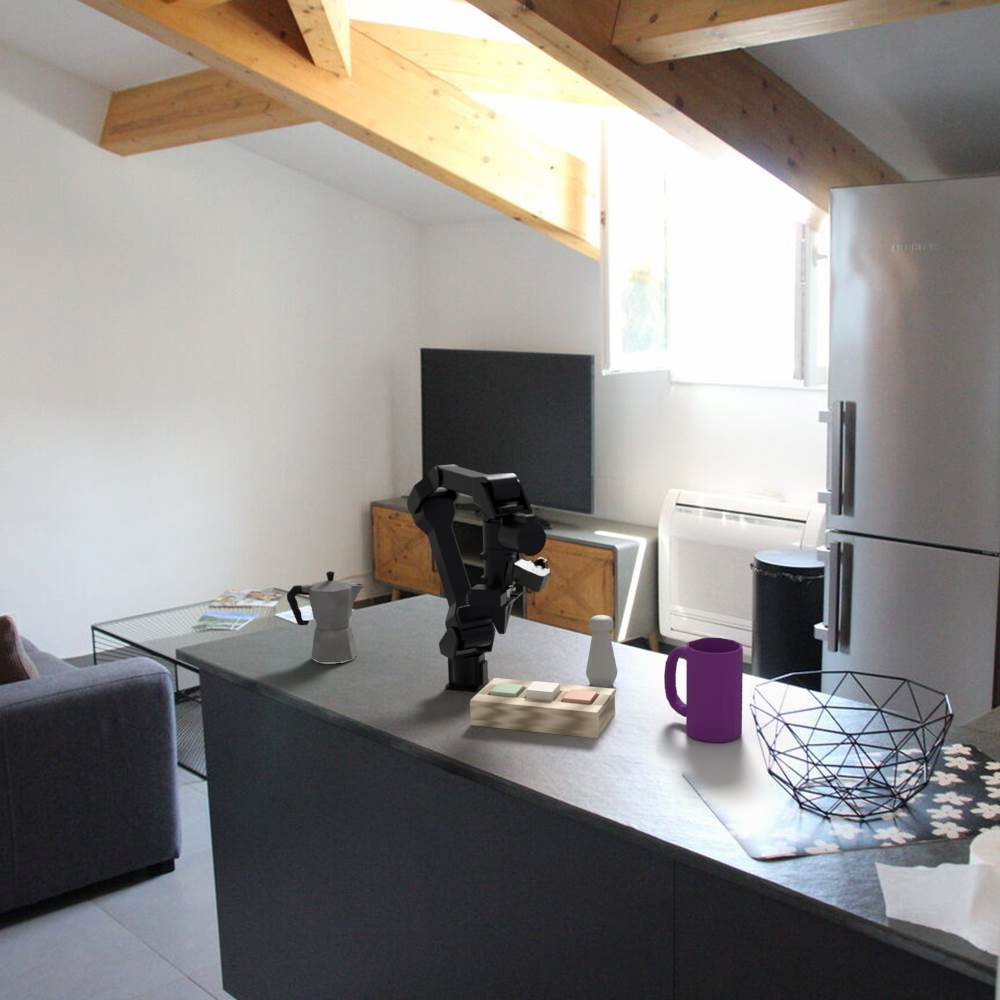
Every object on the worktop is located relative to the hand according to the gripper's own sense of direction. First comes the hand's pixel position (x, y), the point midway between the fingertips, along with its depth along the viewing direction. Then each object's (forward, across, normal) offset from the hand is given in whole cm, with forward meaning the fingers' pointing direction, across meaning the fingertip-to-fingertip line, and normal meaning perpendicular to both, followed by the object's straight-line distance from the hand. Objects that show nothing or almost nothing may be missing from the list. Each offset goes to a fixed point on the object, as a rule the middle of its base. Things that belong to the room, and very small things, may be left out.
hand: (502, 633), depth 203 cm
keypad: (+13, -5, -9) cm, 17 cm away
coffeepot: (+13, +16, +43) cm, 48 cm away
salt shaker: (+13, +15, -14) cm, 24 cm away
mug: (+13, -2, -35) cm, 37 cm away
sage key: (+11, -5, -3) cm, 13 cm away
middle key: (+11, -5, -9) cm, 15 cm away
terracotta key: (+11, -5, -16) cm, 20 cm away
